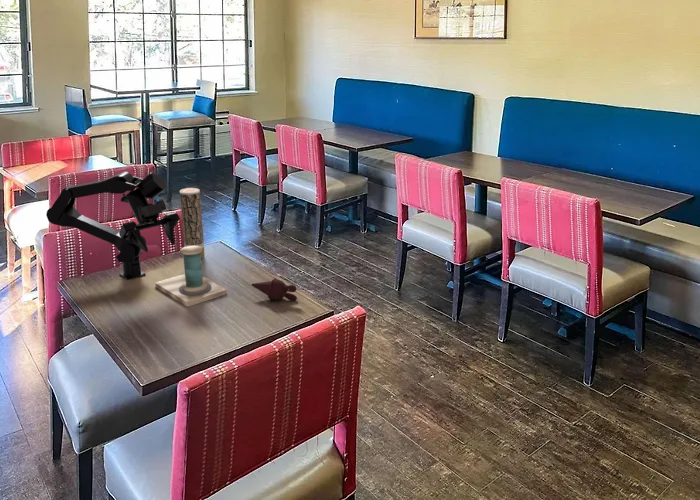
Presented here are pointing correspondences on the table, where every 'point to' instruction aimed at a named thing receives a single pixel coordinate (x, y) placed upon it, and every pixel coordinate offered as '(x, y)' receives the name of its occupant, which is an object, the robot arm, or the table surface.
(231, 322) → the table surface
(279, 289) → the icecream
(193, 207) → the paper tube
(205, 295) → the stand board
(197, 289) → the bobbin
